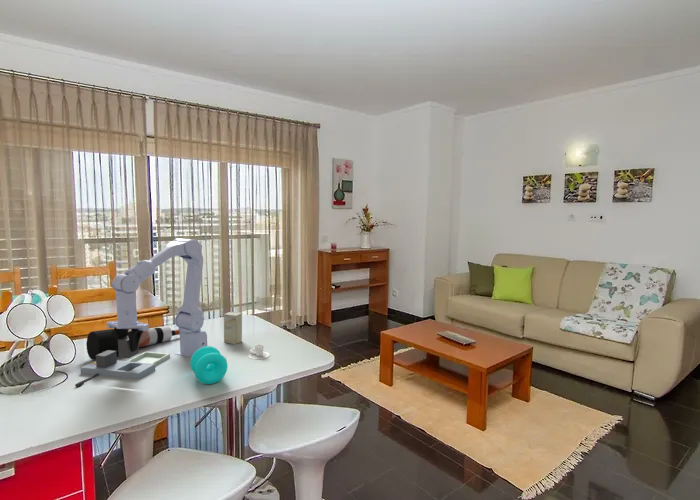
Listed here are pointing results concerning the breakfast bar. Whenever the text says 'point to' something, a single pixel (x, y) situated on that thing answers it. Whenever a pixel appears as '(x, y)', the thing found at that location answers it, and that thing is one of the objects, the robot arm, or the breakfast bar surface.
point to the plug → (126, 348)
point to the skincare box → (232, 327)
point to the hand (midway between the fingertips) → (128, 350)
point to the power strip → (115, 367)
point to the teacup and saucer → (258, 352)
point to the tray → (150, 358)
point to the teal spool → (208, 365)
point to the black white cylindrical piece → (107, 341)
